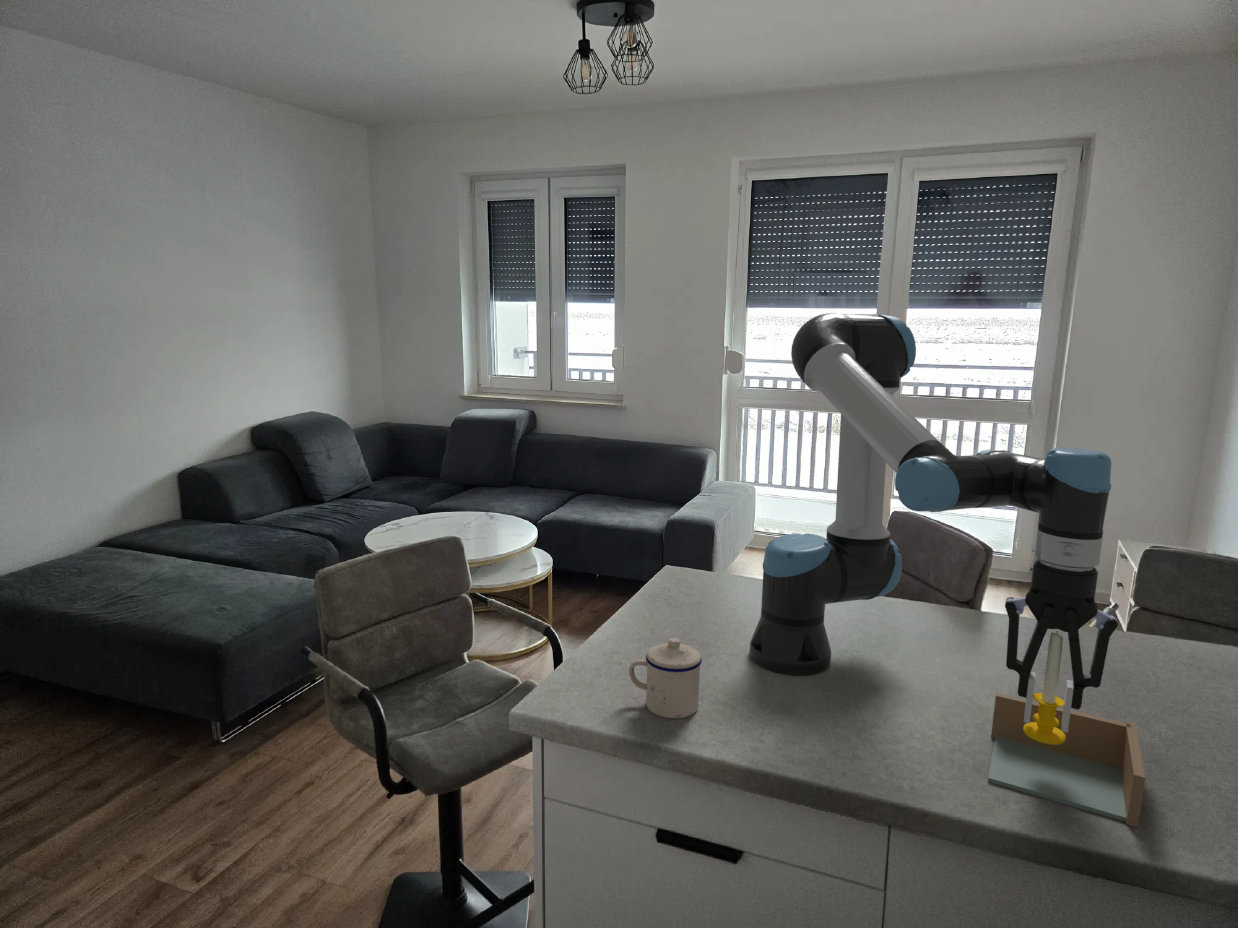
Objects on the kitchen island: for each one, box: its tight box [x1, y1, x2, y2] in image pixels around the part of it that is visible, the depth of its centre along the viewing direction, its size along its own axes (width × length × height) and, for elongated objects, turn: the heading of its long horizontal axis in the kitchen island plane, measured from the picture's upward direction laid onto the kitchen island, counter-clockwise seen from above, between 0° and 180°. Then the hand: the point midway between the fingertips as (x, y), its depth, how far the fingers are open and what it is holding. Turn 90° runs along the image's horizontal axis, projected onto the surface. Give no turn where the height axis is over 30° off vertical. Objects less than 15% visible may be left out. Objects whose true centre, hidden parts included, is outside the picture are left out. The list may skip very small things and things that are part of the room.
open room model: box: [987, 692, 1146, 828], centre depth 104 cm, size 18×15×7 cm
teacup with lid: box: [628, 637, 703, 719], centre depth 121 cm, size 12×9×12 cm
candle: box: [1023, 630, 1066, 745], centre depth 103 cm, size 5×5×16 cm
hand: (1045, 722), depth 104 cm, fingers closed on candle, 4 cm apart
